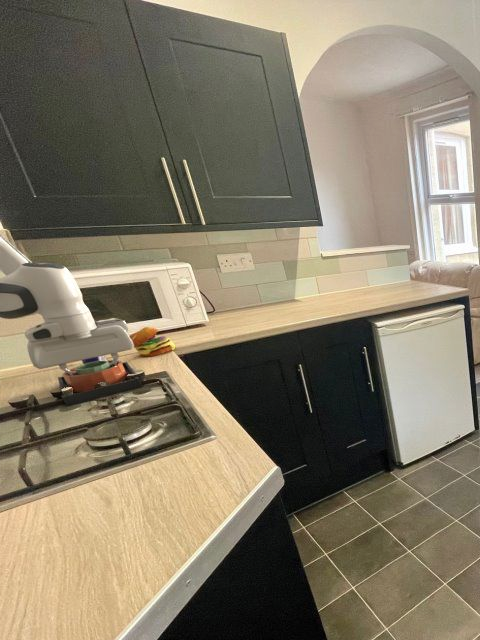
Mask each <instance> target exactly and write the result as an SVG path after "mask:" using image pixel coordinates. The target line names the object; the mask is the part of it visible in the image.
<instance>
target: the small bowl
mask: <svg viewBox="0 0 480 640" xmlns="http://www.w3.org/2000/svg"><path fill="white" fill-rule="evenodd" d="M75 367H76V368H75ZM75 367H74V368H75V370H76V372H77V374H78V375H85V374H91V373H95V372H99V371H103V370H106V369H109V368H111V366H110V364H109V362H108V361H104V360H103V361H95V362H90V363H86V364H83V363H82V364H80V365H77V366H75Z"/></svg>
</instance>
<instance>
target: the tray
mask: <svg viewBox="0 0 480 640" xmlns="http://www.w3.org/2000/svg"><path fill="white" fill-rule="evenodd" d="M122 364H123V367H124V369H125V371H126V373H127V375H128V374H136V373H135V371H134V369H133V368H132V367H131V366H130V364H129V363H128V361H125V362H124V361H123V362H122ZM57 379H58V384H59V390H60V389H63V388H64V387H65V388H66V387H69V386H68V384H67V382H66V381H65V379H64V377H63V375H62V376H59V377H57ZM142 387H143V385H142V382H141V380H140V378H139V377H138V376H137V377H135V379H128V378H126V379H125V380H124V381H122V382H120V383H116V384H112V385H108V386H104V387H100V388H96V389H92V390H88V391H84V392H74V391H73V394H72V395H68V396H65V395H64V396H62V395H61V398H62V400H63V402H64V404H65V405H66V407H69V406H74V405H77V404H82V403H85V402H88V401H92V400H96V399H97V400H98V399H101V398H104V397H108V396H111V395H115V394H119V393H123V392H126V391H130V390H134V389H138V388H142Z"/></svg>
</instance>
